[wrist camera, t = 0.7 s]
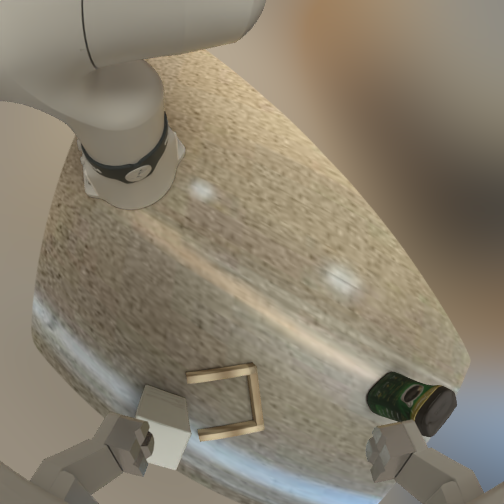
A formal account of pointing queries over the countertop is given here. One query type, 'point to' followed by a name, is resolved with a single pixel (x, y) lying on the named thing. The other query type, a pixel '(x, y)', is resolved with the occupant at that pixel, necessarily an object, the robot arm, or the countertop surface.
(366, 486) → the countertop surface
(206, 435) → the corral
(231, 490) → the countertop surface
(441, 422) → the coffee jar
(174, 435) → the supplement box
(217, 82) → the countertop surface
